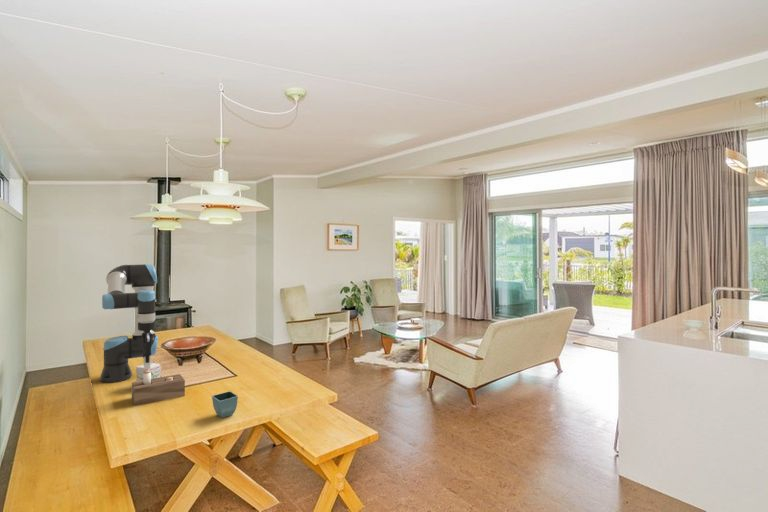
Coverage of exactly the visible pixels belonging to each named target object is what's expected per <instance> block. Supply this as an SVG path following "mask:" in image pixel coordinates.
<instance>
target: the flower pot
mask: <svg viewBox="0 0 768 512" xmlns="http://www.w3.org/2000/svg"><path fill="white" fill-rule="evenodd" d="M211 398H212V399H211V401H212V406H213V410H214V411H215V413H216V414H217V416H219V417H220V418H222V419H224V418H227V417H231V416H233V415H234V413H235V412H236V410H237V407H238V401H239V400H238V399H239V395H237V394H235V393H234V392H233V391H232V390H231V391H230V390H229V391H226V392H225V391H224V392H221V393H218V394H213V395H212V396H211Z"/></svg>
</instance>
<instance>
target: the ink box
mask: <svg viewBox="0 0 768 512" xmlns="http://www.w3.org/2000/svg"><path fill="white" fill-rule="evenodd" d="M135 367H136V368H135V373H136V374H135V377H136V378H135V382H136V381H142V380H143V372H144V371H147V370H150V371H151V379H153V378H159V377H162V376H161V375H162V370H161V369H162V366H161V364H159V363H156V362H155V363H154V362H150V369H144V364H141V365H137V366H135Z"/></svg>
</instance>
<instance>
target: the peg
mask: <svg viewBox="0 0 768 512" xmlns="http://www.w3.org/2000/svg"><path fill="white" fill-rule="evenodd" d="M147 384H151V371H150V370H147V371H144V372H143V385H147Z"/></svg>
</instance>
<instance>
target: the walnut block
mask: <svg viewBox="0 0 768 512" xmlns="http://www.w3.org/2000/svg"><path fill="white" fill-rule="evenodd" d="M167 377H173V380H170V381H166V378H167ZM185 388H186V381H185V378H184V377H183V376H182V375H181V374H179V373H178V374H171V375H167V376H161V377H159V378H153V379H151V384H147V385H143V380H142V381H136V380H135V381H132V382H131V399H132V403H133V405H134V406H135V407H136V406H141V405H145V404H150V403H155V402H156V403H157V402H160V401H165V400H170V399H171V400H172V399H175V398H180V397H185V395H186V389H185Z"/></svg>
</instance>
